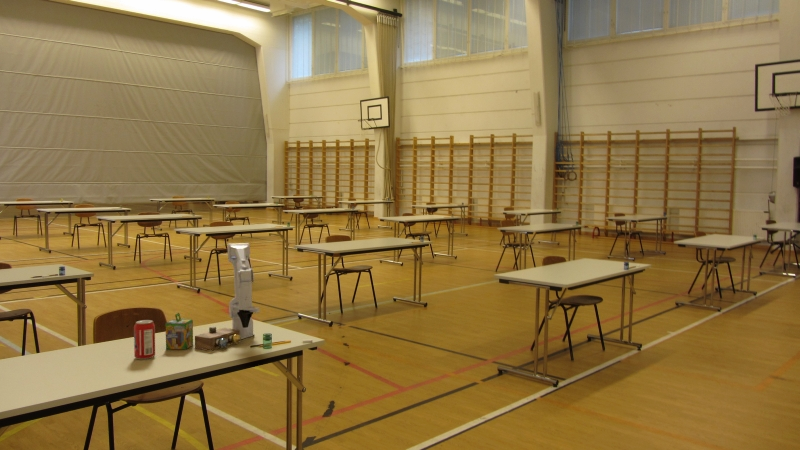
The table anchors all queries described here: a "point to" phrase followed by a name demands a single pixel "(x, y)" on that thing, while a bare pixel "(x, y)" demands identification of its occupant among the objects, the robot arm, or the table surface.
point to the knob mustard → (234, 338)
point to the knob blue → (221, 342)
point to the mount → (208, 339)
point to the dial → (212, 329)
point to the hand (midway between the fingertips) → (245, 327)
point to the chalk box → (179, 333)
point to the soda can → (144, 339)
